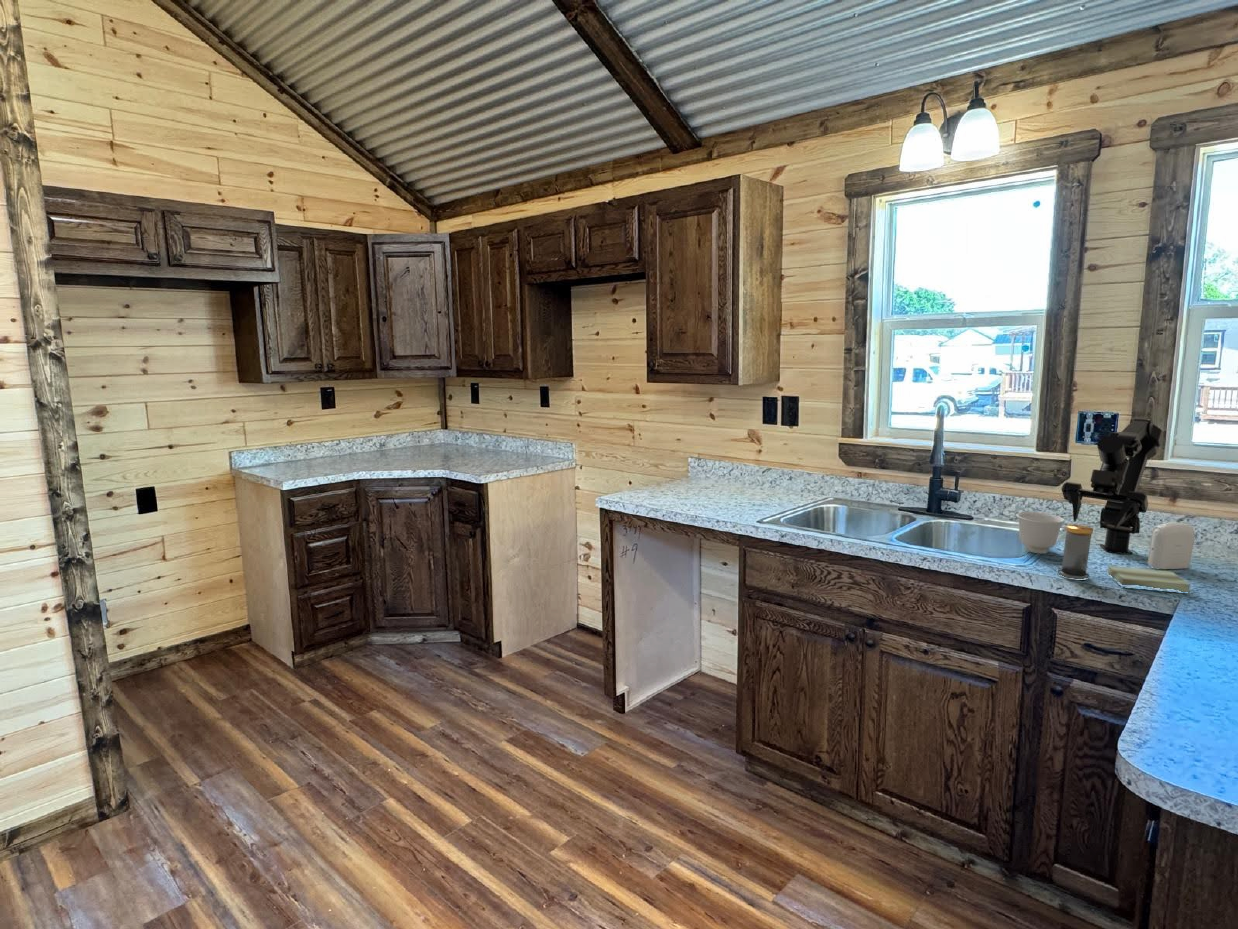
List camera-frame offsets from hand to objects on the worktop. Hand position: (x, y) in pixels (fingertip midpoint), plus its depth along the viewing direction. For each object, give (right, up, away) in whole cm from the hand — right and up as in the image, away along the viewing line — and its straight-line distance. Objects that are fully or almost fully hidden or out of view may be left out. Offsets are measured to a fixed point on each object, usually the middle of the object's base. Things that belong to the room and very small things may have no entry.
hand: (1094, 523), depth 188 cm
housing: (-7, -13, -1) cm, 15 cm away
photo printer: (+24, -12, +6) cm, 28 cm away
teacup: (-3, -9, +21) cm, 23 cm away
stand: (+8, -15, -7) cm, 18 cm away
